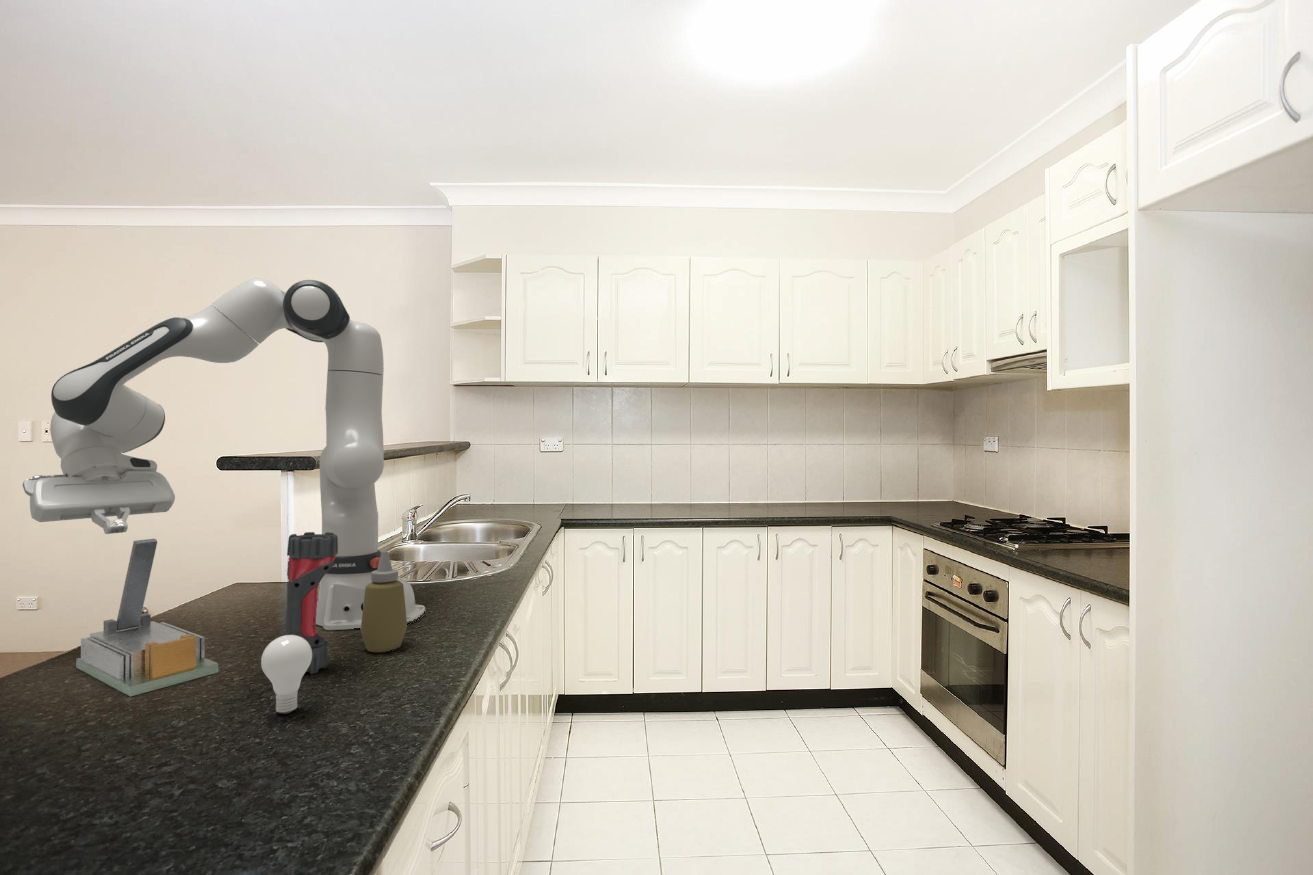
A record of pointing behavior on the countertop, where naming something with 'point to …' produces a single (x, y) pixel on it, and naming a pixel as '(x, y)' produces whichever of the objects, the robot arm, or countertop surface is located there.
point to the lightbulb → (286, 668)
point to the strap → (136, 583)
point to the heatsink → (144, 656)
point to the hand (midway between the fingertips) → (117, 531)
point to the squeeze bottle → (384, 609)
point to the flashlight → (308, 588)
